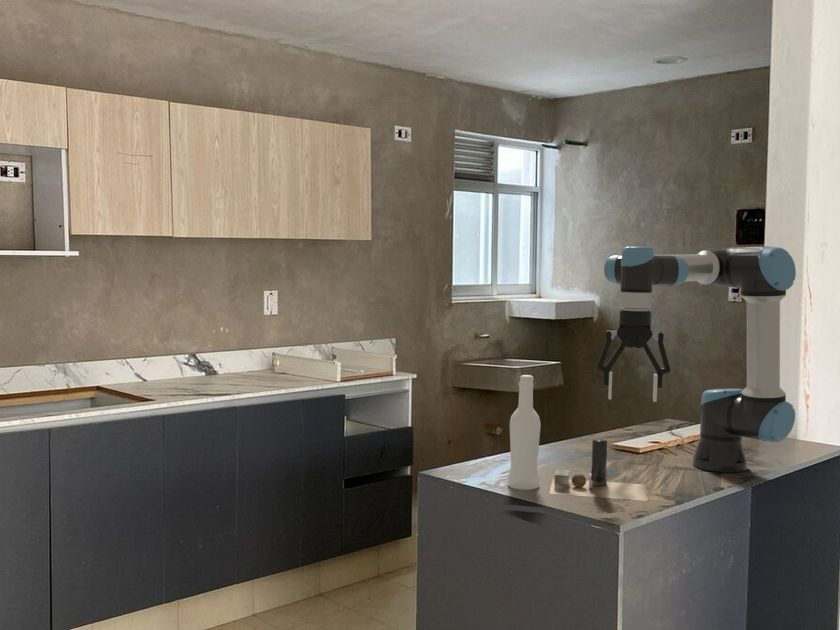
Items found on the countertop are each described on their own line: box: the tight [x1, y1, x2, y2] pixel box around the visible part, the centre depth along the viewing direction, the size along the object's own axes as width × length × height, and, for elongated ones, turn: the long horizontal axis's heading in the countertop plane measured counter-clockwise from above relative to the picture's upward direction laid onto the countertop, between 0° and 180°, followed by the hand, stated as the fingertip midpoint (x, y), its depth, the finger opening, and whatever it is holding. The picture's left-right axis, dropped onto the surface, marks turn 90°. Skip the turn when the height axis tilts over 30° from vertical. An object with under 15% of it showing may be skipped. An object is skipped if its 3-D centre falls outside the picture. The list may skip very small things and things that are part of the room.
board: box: [548, 468, 649, 502], centre depth 220 cm, size 24×16×5 cm, turn 78°
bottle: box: [507, 374, 542, 491], centre depth 221 cm, size 8×8×30 cm
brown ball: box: [571, 473, 587, 488], centre depth 221 cm, size 4×4×4 cm
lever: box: [588, 438, 608, 488], centre depth 219 cm, size 4×15×14 cm, turn 168°
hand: (632, 399), depth 210 cm, fingers open, 10 cm apart
